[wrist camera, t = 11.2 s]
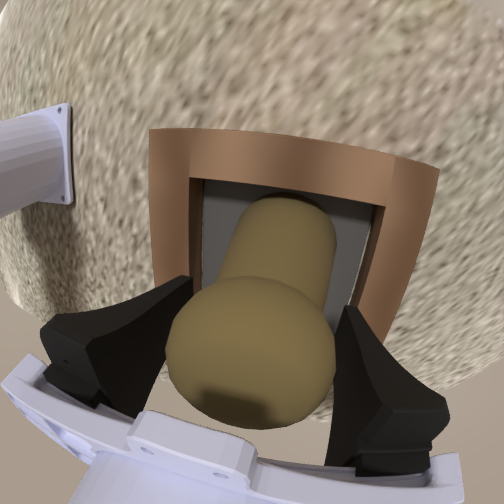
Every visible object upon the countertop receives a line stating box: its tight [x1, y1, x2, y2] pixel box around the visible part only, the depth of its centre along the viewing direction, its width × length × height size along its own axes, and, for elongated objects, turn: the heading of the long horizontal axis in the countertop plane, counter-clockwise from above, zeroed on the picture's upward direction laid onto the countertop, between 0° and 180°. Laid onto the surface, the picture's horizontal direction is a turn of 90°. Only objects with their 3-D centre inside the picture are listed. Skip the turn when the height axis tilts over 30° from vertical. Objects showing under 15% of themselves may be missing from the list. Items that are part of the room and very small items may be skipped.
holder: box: [149, 128, 440, 344], centre depth 16 cm, size 15×15×2 cm
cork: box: [165, 192, 337, 430], centre depth 12 cm, size 6×6×11 cm
